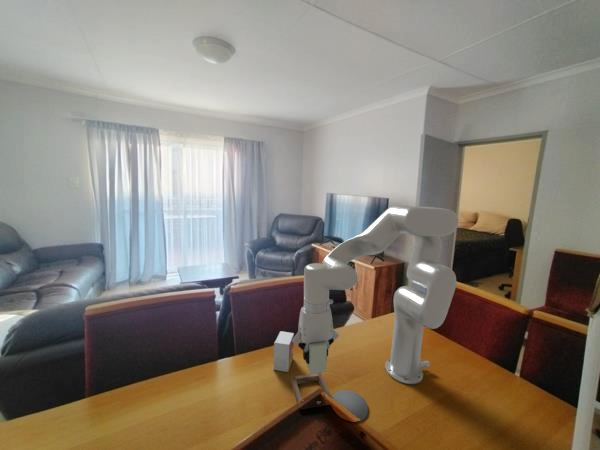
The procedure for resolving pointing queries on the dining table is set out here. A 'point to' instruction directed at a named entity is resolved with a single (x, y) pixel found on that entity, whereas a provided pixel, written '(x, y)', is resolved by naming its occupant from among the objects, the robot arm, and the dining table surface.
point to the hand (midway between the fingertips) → (315, 359)
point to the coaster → (352, 403)
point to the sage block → (317, 357)
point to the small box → (283, 351)
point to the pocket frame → (306, 379)
